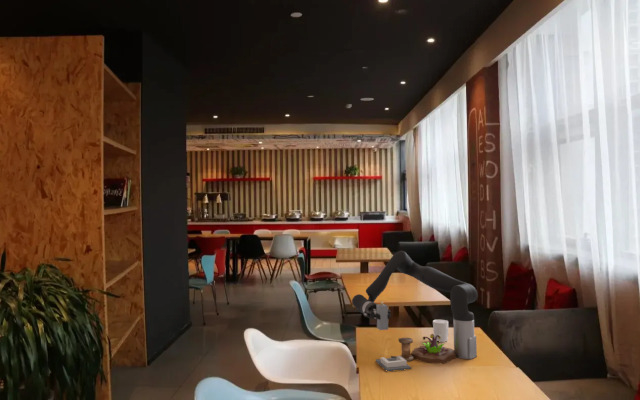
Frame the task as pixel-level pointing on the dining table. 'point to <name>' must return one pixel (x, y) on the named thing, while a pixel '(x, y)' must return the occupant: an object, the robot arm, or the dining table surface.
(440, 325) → the white cup
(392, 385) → the dining table surface
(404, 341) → the bobbin
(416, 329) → the dining table surface
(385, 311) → the gray block with knob
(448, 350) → the plant
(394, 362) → the grey u-shaped stand base
